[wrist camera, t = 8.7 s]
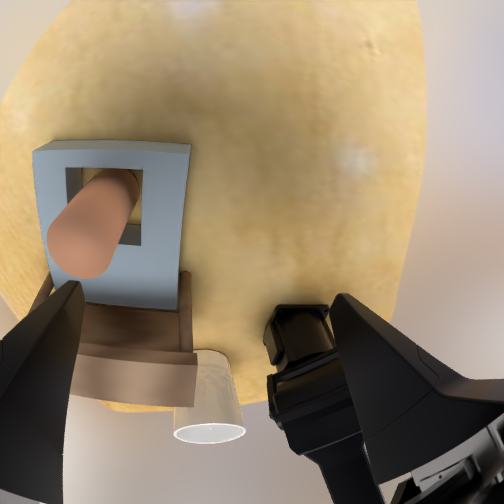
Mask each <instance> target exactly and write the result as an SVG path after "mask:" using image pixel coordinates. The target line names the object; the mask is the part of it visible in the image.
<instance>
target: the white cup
mask: <svg viewBox="0 0 504 504" xmlns="http://www.w3.org/2000/svg"><path fill="white" fill-rule="evenodd" d="M193 353H197V359H198V369H197V379H196V389H195V399H194V407H174V436H175V437H176V438H178V439H179V440H182V441H186V442H191V443H201V444H209V443H220V442H226V441H230V440H234V439H236V438H239V437H241V436H242V435H243V434H245V432H246V430H245V425H244V421H243V417H242V413H241V409H240V404H239V400H238V396H237V392H236V388H235V384H234V380H233V377H232V375H231V370H230V365H229V362H228V360H227V357H226V356H224V355H223V354H221V353H219V352H217V351H212V350H193Z"/></svg>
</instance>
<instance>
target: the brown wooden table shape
mask: <svg viewBox="0 0 504 504" xmlns="http://www.w3.org/2000/svg"><path fill="white" fill-rule="evenodd" d="M53 287H54V283H53V279H52V276H51V272H49V274H48V276H47V277H46V279H45V281H44V283H43V285H42V287H41V289H40V291H39V292H38V294H37V296H36V298H35V300H34V302H33V304H32V306H31V309H30V311H29V313H30V312H31V311H32V310H34V309H35V308H36V307H37V306H38V305H39V304H40V303H42V302H43V301H44V300H45V299H46V298H47V297H49V295H50V293H51V291H52V289H53ZM29 313H28V314H29ZM197 369H198V359H197V353H193V333H192V298H191V274H190V273H189V272H187V271H184V272H182V273H181V274H180V295H179V313H175V312H159V311H146V310H134V309H124V308H114V307H104V306H95V305H87V304H85V310H84V316H83V323H82V329H81V336H80V343H79V349H78V353H77V358H76V362H75V367H74V372H73V377H72V382H71V388H70V394H73V395H77V396H83V397H88V398H94V399H100V400H106V401H113V402H121V403H129V404H139V405H151V406H166V407H194V399H195V389H196V379H197Z"/></svg>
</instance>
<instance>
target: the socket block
mask: <svg viewBox="0 0 504 504" xmlns="http://www.w3.org/2000/svg"><path fill="white" fill-rule="evenodd" d="M190 151H191V145H189V144H178V143H166V142H151V141H131V140H64V141H51V142H49V143H47V144H45V145H43V146H41V147H40V148H38V149H36V150H34V151H33V171H34V183H35V193H36V201H37V209H38V215H39V222H40V227H41V233H42V238H43V243H44V248H45V252H46V256H47V260H48V264H49V268H50V272H51V276H52V279H53V283H54V286H55V290H57V289H58V288H59V287H61V286H62V285H63V284H64V283H66V282H67V281H68V280H77V281H80V282H81V285H82V289H83V293H84V297H85V302H91V303H100V304H109V305H119V306H129V307H141V308H153V309H167V310H177V287H178V268H179V253H180V240H181V228H182V217H183V207H184V198H185V189H186V181H187V173H188V166H189V158H190ZM82 167H87V168H121V169H141V170H143V184H142V212H141V225H131V224H126V226H125V228H124V231H123V233H122V235H121V238H120V240H119V242H118V245H117V247H116V250H115V252H114V255H113V257H112V260H111V263H110V265H109V267H108V269H107V270H106V271H105V272H104V273H103V274H102V275H100V276H98V277H95V278H91V279H82V278H78V277H74V276H72V275H70V274H68V273H66V272H65V271H63V270H62V269H61V268H60V267H59V266H58V265H57V264H56V263H55V262H54V260H53V259H52V257H51V255H50V253H49V250H48V247H47V232H48V229H49V227H50V225H51V223H52V222H53V221H54V220H55V219H56V217H57V216H58V215H59V214H60V213H61V212H62V210H63V209H64V208H65V207H66V206H67V205H68V204H69V202H70V201H71V200H72V199H73V198H74V197H75V196H76V195H77V194H78V193H79V192H80V190H81V189H82Z"/></svg>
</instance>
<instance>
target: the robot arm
mask: <svg viewBox="0 0 504 504" xmlns="http://www.w3.org/2000/svg"><path fill="white" fill-rule="evenodd" d="M84 310H85V297H84V293H83V289H82V285H81V282H80V281H77V280H68V281H67V282H66V283H64V284H63V285H62V286H61V287H59V288H58V289H57V290H56V291H55V292H53V293H52V294H51V295H50V296H49V297H47V298H46V299H45V300H44V301H43V302H42V303H40V304H39V305H38V306H37V307H36V308H35V309H34V310H32V311H31V312H30V313H29V314H28V315H27V316H26V317H25V318H23V319H22V320H21V321H20V322H19V323H18V324H17V325H16V326H15V327H14V328H13V329H12V330H11V331H9V332H8V333H7V334H6V335H5V336H4V337H3V338H2V340H0V504H39V502H42V503H46V504H63V478H62V477H63V476H62V475H63V455H62V454H63V446H64V432H65V424H66V415H67V408H68V401H69V394H70V388H71V382H72V377H73V372H74V367H75V362H76V358H77V353H78V349H79V343H80V336H81V329H82V323H83V316H84ZM328 313H329V317H330V321H331V325H332V330H333V334H334V337H333V335H332V333H331V330H330V328H329V326H328V324H327V322H326V320H325V318H326V317H327V315H328ZM263 343H264V345H265V346H266V348H267V352H268V355H269V359H270V363H271V364H272V365H273V366H275V365H276V368H277V372H278V373H275V374H273V375H272V374H270V375H268V376H267V392H268V402H269V416H270V418H271V419H273V420H275V422H276V424H277V425H278V427H279V428H280V429H281V430H284V431H285V434H286V437H287V440H288V443H289V447H290V448H291V450H293V451H294V452H295V453H296V454H297V455H304V456H306V457H307V458H309V459H311V460H312V461H313V462H315V463H317V464H318V465H319V467H320V469H321V472H322V475H323V477H324V480H325V483H326V485H327V488H328V490H329V493H330V495H331V498H332V500H333V503H334V504H386V501H385V499H384V496H383V493H382V491H381V488H380V486H379V485H380V484H382V483H385V482H387V481H390V480H392V479H395V478H397V477H399V476H402V475H404V474H406V473H408V472H411V474H412V476H411V477H410V478H408V479H406V480H404V481H403V482H401V483H399V484H398V486H397V489H396V491H395V494H394V496H393V498H392V501H391V503H390V504H504V379H487V380H485V379H484V380H474V379H469V378H465V377H463V376H462V375H460V374H459V373H457V372H455V371H454V370H453V369H451V368H450V367H448V366H447V365H445V364H443V363H442V362H440V361H439V360H437V359H436V358H435V357H433V356H432V355H430V354H429V353H428V352H426V351H425V350H424V349H422V348H421V347H420V346H418V345H416V343H414V342H413V341H412V340H410V339H409V338H408V337H406V336H405V335H404V334H402V333H401V332H400V331H398V330H397V329H396V328H394V327H393V326H392V325H390V324H389V323H388V322H386V321H385V320H384V319H382V318H381V317H380V316H378V315H377V314H376V313H374V312H373V311H372V310H370V309H369V308H368V307H366V306H365V305H363V304H362V303H361V302H359V301H358V300H357V299H355V298H354V297H352V296H351V295H350V294H348V293H339V294H337V295H336V297H335V299H334V301H333V303H332V305H331V307H330V308H329V306H328V305H280V306H277V307H276V309H275V311H274V314H273V316H272V319H271V321H270V322H269V323H268V326H267V329H266V331H265V334H264V340H263ZM364 442H365V446H366V449H365V447H364ZM366 450H367V452H366ZM367 453H368V454H367Z"/></svg>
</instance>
